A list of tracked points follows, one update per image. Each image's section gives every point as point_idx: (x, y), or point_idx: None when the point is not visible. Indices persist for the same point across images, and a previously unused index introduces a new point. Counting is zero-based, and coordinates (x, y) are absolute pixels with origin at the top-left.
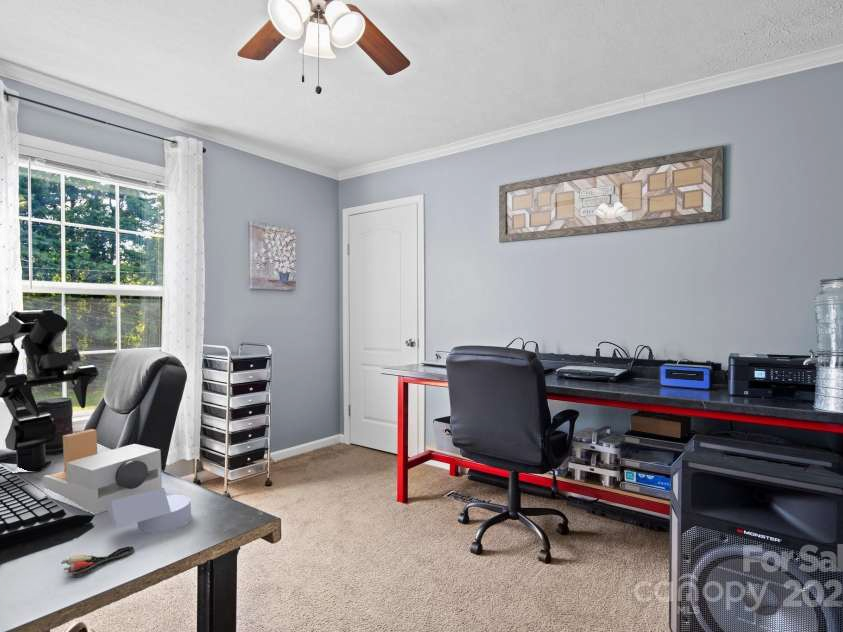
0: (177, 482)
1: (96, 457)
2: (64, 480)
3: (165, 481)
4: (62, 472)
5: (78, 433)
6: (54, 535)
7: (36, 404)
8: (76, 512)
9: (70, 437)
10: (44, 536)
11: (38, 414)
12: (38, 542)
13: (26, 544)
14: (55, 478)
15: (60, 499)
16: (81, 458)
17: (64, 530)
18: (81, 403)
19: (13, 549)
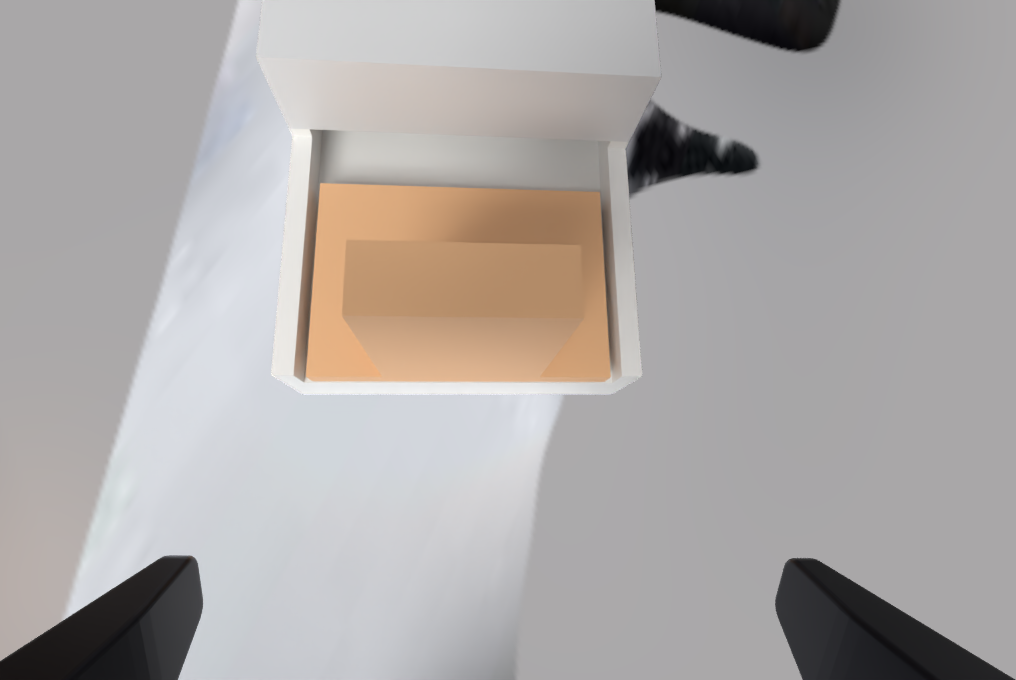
0: (248, 24)
1: (531, 14)
2: (612, 205)
3: (260, 77)
4: (558, 356)
5: (481, 269)
6: (723, 9)
7: (929, 665)
8: None
9: (555, 247)
10: (742, 28)
11: (809, 559)
12: (765, 7)
13: (790, 25)
14: (624, 274)
15: None
16: (583, 70)
17: (693, 14)
18: (162, 638)
19: (820, 27)
